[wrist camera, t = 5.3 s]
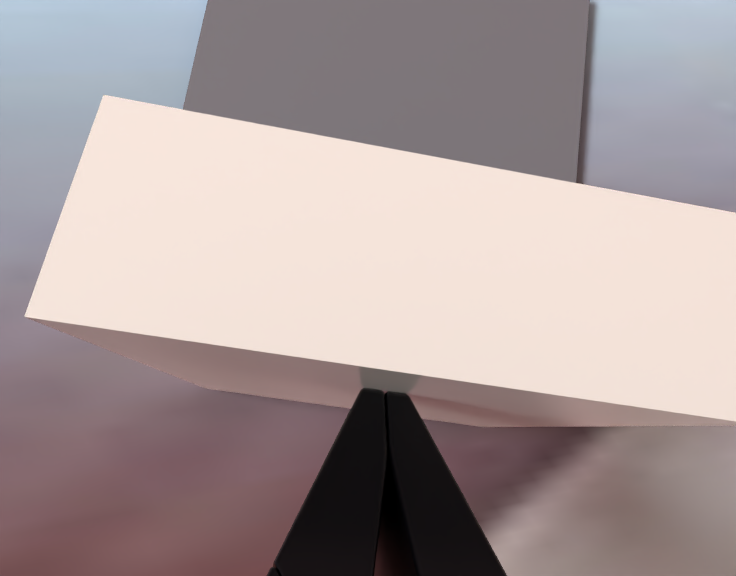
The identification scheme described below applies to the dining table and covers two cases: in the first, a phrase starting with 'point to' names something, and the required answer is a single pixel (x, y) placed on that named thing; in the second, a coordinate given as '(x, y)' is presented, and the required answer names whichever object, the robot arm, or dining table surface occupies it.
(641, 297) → the tile
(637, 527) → the dining table surface
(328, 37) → the mat
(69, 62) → the dining table surface
